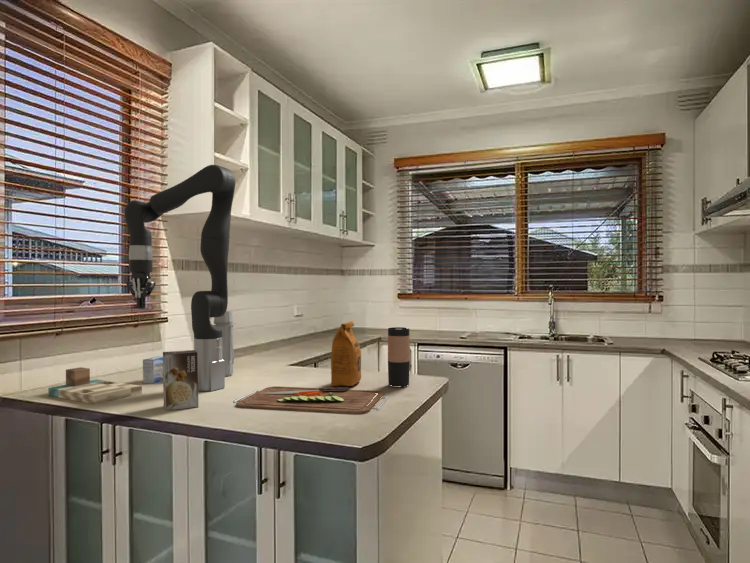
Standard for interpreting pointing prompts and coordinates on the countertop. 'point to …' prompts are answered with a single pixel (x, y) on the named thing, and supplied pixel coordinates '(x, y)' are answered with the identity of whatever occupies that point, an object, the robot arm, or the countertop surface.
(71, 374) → the walnut block
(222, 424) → the countertop surface
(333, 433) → the countertop surface
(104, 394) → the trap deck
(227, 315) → the water bottle
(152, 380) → the medicine box
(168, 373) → the coffee box
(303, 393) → the chopping board
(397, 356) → the travel mug
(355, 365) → the coffee package
